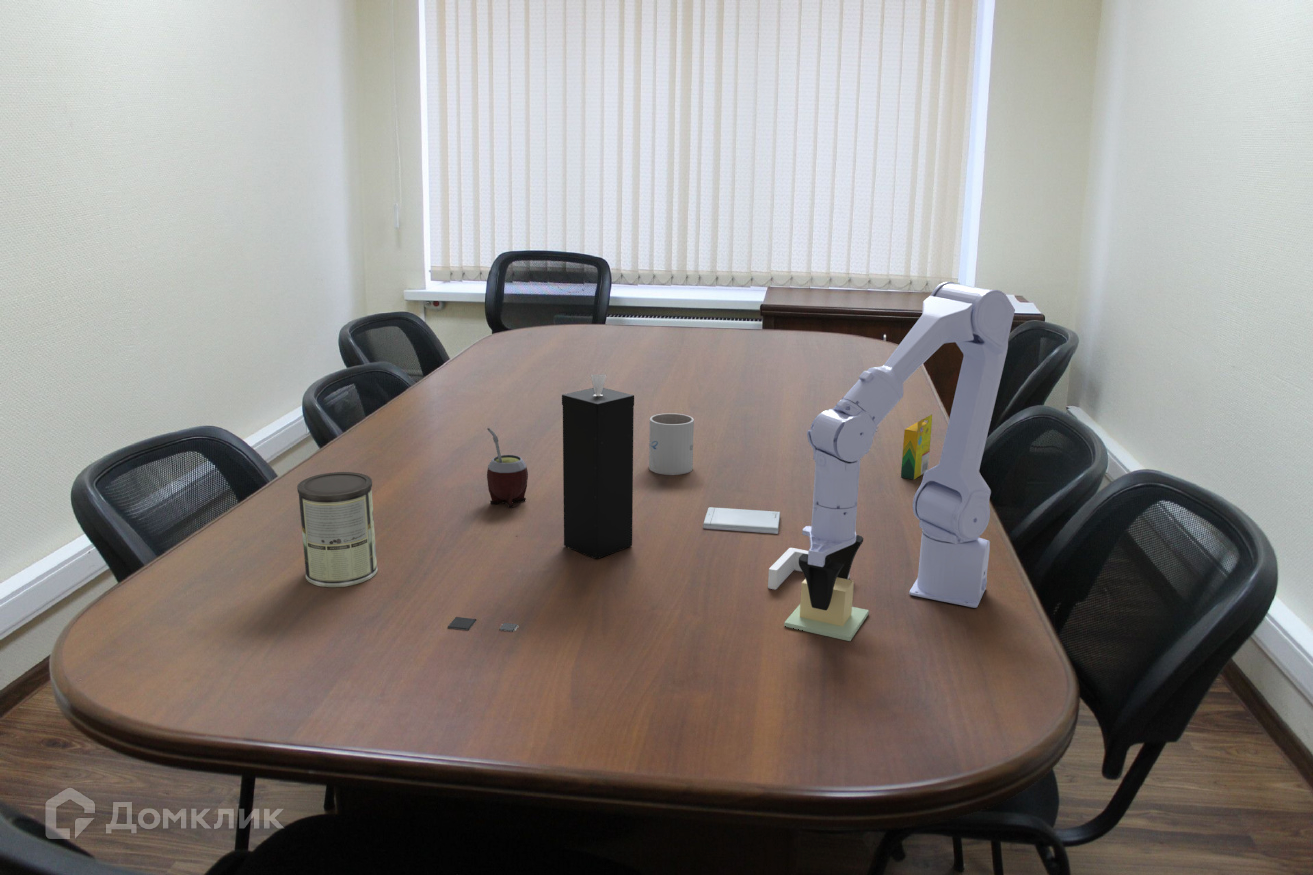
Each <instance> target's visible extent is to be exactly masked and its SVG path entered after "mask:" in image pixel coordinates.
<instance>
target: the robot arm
mask: <svg viewBox="0 0 1313 875" xmlns="http://www.w3.org/2000/svg"><path fill="white" fill-rule="evenodd" d="M1015 311H1016V309H1015V307H1014V305H1013V304H1012V302H1011V301H1010V299H1009V298H1008V296H1007V295H1006V294H1005V292H1003V291H1001V290H998V289H988V288H987V289H986V288H982V287H975V286H972V285H963V284H958V283H955V282H953V281H944V282H941V283H939V284H938V285H937V286H936V287H934V289H933V290H932V292H931V294H930V295H929V296H928V297H927V298H925V299H924V300H923V301H922V310H921V312H922V314H921V316H920V317H919V318H918V319H917V321H916V322H915V324H914V325H913V326H912V328H910V329H909V331H908V332H907V334H906V335H905V337H904V338H903V339H902V341H900V343H899V345H897V347H896V348H895V350H894V351H893V352H892V353H891V355H890V356H889V357H888V359H887V360H886V361H885V363H884V364H883V365H881V366H875V367H869V368H868V369H867V370H863V372H862V373H861V374H860V375H859V376H858V380H857V381H856V382H855V384H853V386H852V387H851V388H850V389H849V390H848V391H847V392H846V393H845V395H844V396H843V397H842V398H841V399H840V400H838V401H837V403H836V404H835V406H834V407H832V408H829V409H827V410H824V411H822V412H821V413H819V414H818V415H817V416H816V417H815V418H814V419H813V420H812V423H811V426H810V429H808V430H807V431H806V437H807V440H808V443H809V446H810V447H811V448H812V453H813V455H812V456H813V458H812V459H813V460H814V478H813V479H814V480H813V493H812V494H813V495H812V511H811V512H812V513H811V514H812V515H811V525H805V527H803V528H802V532H801V533H802V535H803V536H807V537H809V538H808V539H809V549H808V551H809V552H808V554H802V555H801V556H800V557H799V566H800V568H801V570H802V573H803V576H804V578H805V579H806V582H807V585H808V590H809V596H810V601H811V606H812V608H816V609H821V610H827V609H828V607H829V605H830V602H831V598H832V593H833V588H834V585H835V581H836V579H837V577H838V578H843V579H848V576H849V577H850V573H849V572H851V568H852V565H853V563H854V559H855V557H856V554H857V552H858V550H859V549H860V547H861V546H862V544H863V543H864V536H862V535H860V534H859V535H857V532H856V526H857V525H856V523H857V512H858V497H859V485H860V483H859V482H860V472H861V470H860V469H861V460H862V458H863V457H864V456H865V455H867V454H868V453H869V452H870V449H871V448H872V445H873V442H874V436H875V434H876V433H877V432H878V431H877V430H878V428H879V425H880V424H881V422H882V421H883V420H884V419H885V418H886V416H888V414H890V412H892V410H893V409H894V408H895V406H896V405H898V403H900V401H901V400H902V399H903V397H904V383H905V382H906V381H907V380H908V379H909V378H910V377H911V376H912V375H913V374H914V373H915V372H916V371H917V370H918V369H919V368H920V367H921V366H922V365H923V364H924V363H925V362H927V360H928V359H929V358H930V357H932V356H933V355H934V354H935V352H937V351H938V350H939V349H940V348H941V347H942V346H943V345H944V344H949V343H955V344H956V346H957V347H958V348H959V350H960V351H961V353H962V354H963V358H962V362H961V367H960V370H959V376H958V380H957V384H956V388H955V393H954V398H953V402H952V405H951V410H950V415H949V420H948V423H947V427H946V433H945V436H944V441H943V445H942V449H941V455H940V458H939V462H938V464H936V465H935V466H932V467H930V468H928V470H927V471H926V472H925V473H923V477H922V480H921V484H920V485H919V487H918V489H917V490H916V491H915V494H914V496H913V499H912V512H913V515H914V517H915V518H916V519H917V520H918V521H919V523H918V527H919V528H920V529H921V530H922V531H921V539H920V550H919V561H918V562H919V564H918V569H917V570H918V571H917V578H916V580H915V582H914V583H913V585H912V587H911V588H910V590H909V593H908V594H909V595H910V596H912V597H913V596H914V597H919V598H924V599H929V600H934V601H937V602H944V603H949V604H952V605H959V606H964V607H967V608H974V609H975V608H978V606H979V604H980V602H981V599H982V597H983V595H984V593H985V591H986V588H987V584H988V578H987V576H988V568H989V561H990V560H989V559H990V552H991V551H990V547H991V546H990V545H991V544H990V543H991V542H990V541H991V540H988V539H985V538H983V537H980V536H982V534H983V533H984V532H985V531H986V529H987V527H988V525H989V522H990V517H991V509H990V497H991V494H992V490H991V488H990V487H989V485H988V484H987V482H986V480H985V479H984V477H983V476H982V475H981V472H980V468H981V463H982V459H983V455H984V452H985V447H986V443H987V440H988V433H989V429H990V426H991V421H992V417H993V413H994V409H995V404H996V400H997V396H998V391H999V388H1000V383H1001V379H1002V375H1003V372H1004V366H1005V363H1006V362H1005V361H1006V357H1007V354H1008V348H1009V337H1010V334H1011V329H1012V324H1013V320H1014V317H1015V313H1016V312H1015ZM848 580H849V579H848Z"/></svg>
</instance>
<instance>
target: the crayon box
mask: <svg viewBox="0 0 1313 875" xmlns="http://www.w3.org/2000/svg"><path fill="white" fill-rule="evenodd" d="M925 421H927V422H925ZM932 426H933V414H930V415H928V416H926V417H924V418H922V419H921V420H919V421H917V422H915V423H913V424H912V425H909V426H908V427H907V428H905V429H904V431H903V432H904V434H903V443H902V456H901V470H900V477H901V478H903V479H909V480H916V479H917V478H919V477H921V476H922V475H924V473H925V472H926V471H927V470H929V463H930V462H929V461H930V452H931V451H930V450H931V439H932V438H931V437H932V436H931V435H932Z"/></svg>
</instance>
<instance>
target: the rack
mask: <svg viewBox="0 0 1313 875" xmlns="http://www.w3.org/2000/svg"><path fill="white" fill-rule="evenodd" d="M808 552H809V550H806V549H800V548H796V547H795V548H794V547H789V548H788V549H787V550H786V551H785V552H784V553H783V554H782V555H781V556H780V557H779V558H778V559H777V560H776V561H775V562H774V563H773V564H772V565H771V566H770V567H769V568H768V581H767V583H768V584H767V589H770V590H771V589H772V590H777V589H778V588H779V587H780V586H781V585H782V584H783V583H784V582H785V580H787V578H788V577H789V576H790V575H791V574H792V573H793V571H797V572H802V570H801V568H800V566H799V557H800V556H801V555H802V554H808ZM850 572H851V571H850ZM850 572H849V574H851V573H850ZM802 573H803V572H802ZM848 580H850V575H849V576H848Z"/></svg>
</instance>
